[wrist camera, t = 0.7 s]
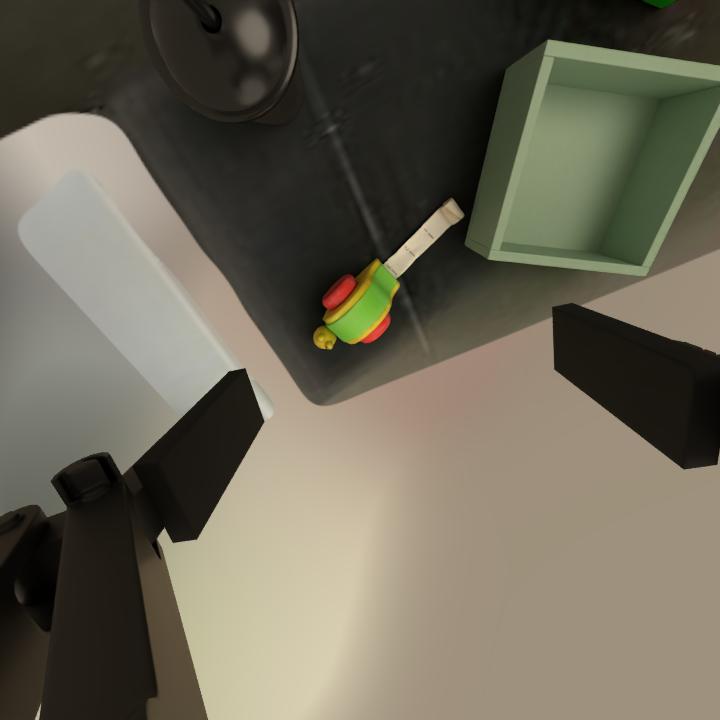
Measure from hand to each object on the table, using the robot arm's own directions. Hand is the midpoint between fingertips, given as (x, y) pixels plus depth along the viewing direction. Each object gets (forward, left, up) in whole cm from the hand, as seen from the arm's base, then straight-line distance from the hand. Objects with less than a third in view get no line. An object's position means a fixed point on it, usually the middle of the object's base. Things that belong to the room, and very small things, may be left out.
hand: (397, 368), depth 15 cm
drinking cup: (-13, -10, -24) cm, 29 cm away
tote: (-9, +16, -23) cm, 30 cm away
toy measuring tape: (+2, +1, -24) cm, 24 cm away
